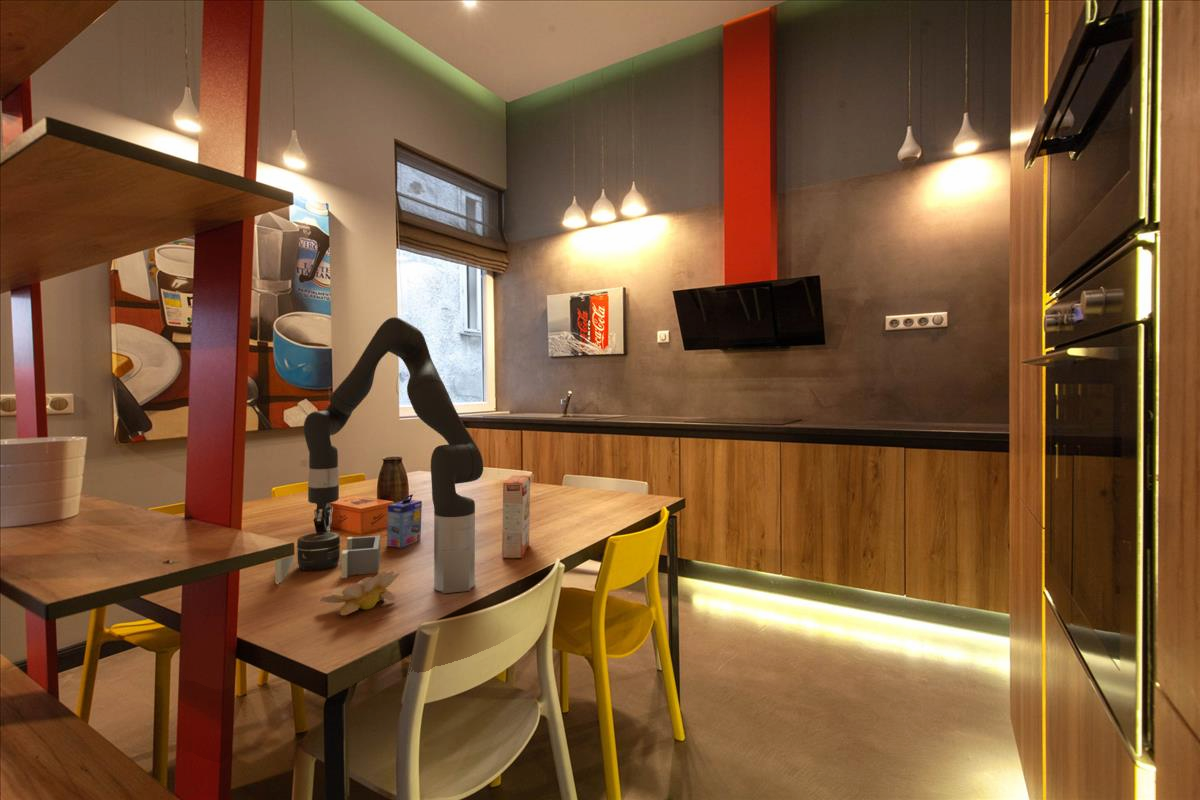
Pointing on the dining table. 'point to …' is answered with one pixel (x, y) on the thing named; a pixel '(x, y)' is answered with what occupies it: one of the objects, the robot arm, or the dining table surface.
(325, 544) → the jar
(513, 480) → the cracker box
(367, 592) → the decorative flower
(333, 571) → the dining table surface
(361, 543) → the channel
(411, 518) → the ink cartridge box
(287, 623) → the dining table surface
